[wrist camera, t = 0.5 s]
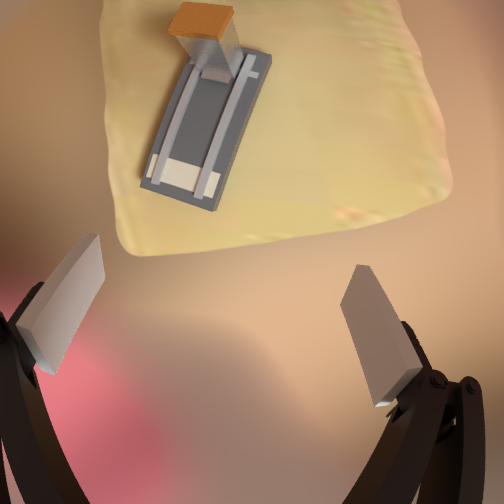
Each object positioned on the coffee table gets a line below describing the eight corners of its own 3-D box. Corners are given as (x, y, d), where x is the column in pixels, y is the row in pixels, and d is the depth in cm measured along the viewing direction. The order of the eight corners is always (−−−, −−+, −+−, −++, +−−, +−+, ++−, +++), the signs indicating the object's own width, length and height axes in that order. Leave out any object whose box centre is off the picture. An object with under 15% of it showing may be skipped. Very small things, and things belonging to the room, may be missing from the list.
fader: (211, 46, 28) (186, -3, 17) (247, 53, 28) (234, 2, 17) (196, 77, 29) (164, 35, 18) (233, 85, 29) (214, 41, 18)
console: (201, 47, 31) (196, 37, 28) (271, 62, 31) (271, 52, 28) (147, 187, 35) (137, 186, 33) (216, 210, 35) (211, 212, 32)
